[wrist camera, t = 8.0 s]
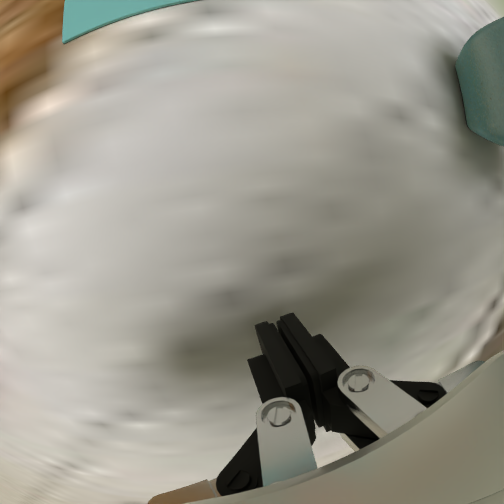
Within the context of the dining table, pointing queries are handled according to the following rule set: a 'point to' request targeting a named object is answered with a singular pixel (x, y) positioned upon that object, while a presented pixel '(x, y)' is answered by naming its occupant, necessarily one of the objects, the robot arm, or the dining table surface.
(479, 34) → the flower pot
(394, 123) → the dining table surface
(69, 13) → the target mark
